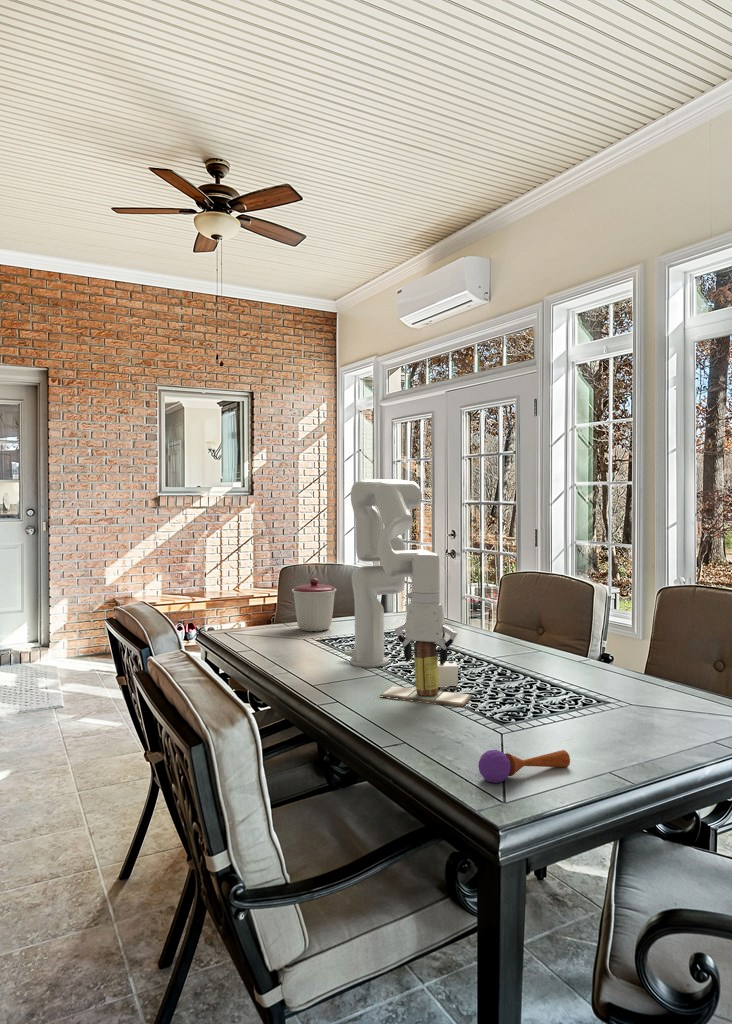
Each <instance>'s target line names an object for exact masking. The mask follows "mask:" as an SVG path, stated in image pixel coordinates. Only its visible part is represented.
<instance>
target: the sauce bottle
mask: <svg viewBox="0 0 732 1024" xmlns="http://www.w3.org/2000/svg"><path fill="white" fill-rule="evenodd" d="M413 652H414V656H413V660H414V661H413V663H414V676H415V677H414V679H415V689H416V691H417V694H418V695H422V696H434V695H437V694H438V692H439V688H440V687H439V680H438V662H437V661H438V652H437V645H436V642H421V641H414V644H413Z"/></svg>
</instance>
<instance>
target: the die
mask: <svg viewBox="0 0 732 1024" xmlns="http://www.w3.org/2000/svg"><path fill="white" fill-rule="evenodd" d="M437 662H438V680H439V686H443V687H442V688H445V687H444V686H447V687H446V688H449V687H448V686H456V687H455V688H458V687H459V678H458V677H459V676H458V674H459V666H458V663H457V661H456V660H455V661H451V660H450V661H449V660H447V661H446V662H445V663H444V664H440V660H437ZM457 686H458V687H457Z"/></svg>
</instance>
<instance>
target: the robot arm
mask: <svg viewBox="0 0 732 1024" xmlns="http://www.w3.org/2000/svg"><path fill="white" fill-rule="evenodd" d="M350 490H351V491H350V503H351V506H352V510H353V513H354V514H353V515H354V518H355V519H354V520H355V549H356V550H355V551H356V556H357V558H358V560H359V561H361V562H365V563H367V562H368V563H369V562H371V563H372V562H381V563H380V564H381V565H364V566H360V567H357V568H356V569H354V571H353V572H352V574H351V586H352V590H353V591H352V592H353V599H354V600H353V601H354V648H349V647H345V648H344V651H343V653H344V655H345V656H351V658H350V659H349V661H350V664H351V665H352V666H355V667H361V668H379V667H384V666H386V665H387V666H388V664H390V659H389V658H388V657H387V656H385V608H384V605H383V604H382V602H381V601H380V600H379V599H378V596H382V595H384V596H385V595H397V594H399V593H401V592H402V591H403V590H404V589H405V583H406V578H409V577H411V591H410V592H407V593H406V598H407V599H410V602H408V605H407V608H406V616H405V617H406V618H405V623H404V624H402V625H400V626H397V627H396V628H395V629H394V633H395V635H396V636H397V639H398V641H399V642H400V643H401V644H402V646H403V657H404V658H405V662H409V661H411V660H412V658H413V657H412V655H413V654H412V653H413V652H412V651H413V649H412V648H413V647H412V646H413V645H412V644H411V642H416V641H421V642H434V643H437V644H438V645H439V646H440V649H439V661H440V664H444V663H445V662H446V661H448V648H449V647H450V646H451V645H452V644H453V643H454V642H455V640H456V639H457V636H458V632H457V631H455V630H454V629H452V628H451V627H448V626H447V625H446V624H445V613H444V607H443V604H442V603H440V602H441V601H440V595H441V594H440V556H439V554H438V553H435V552H432V551H429V550H427V549H405V543H404V539H403V537H402V536H401V535H403V534H405V533H407V532H408V531H409V530H410V529H411V528H412V527H413V523H414V518H413V516H412V514H411V510H412V509H414V510H415V509H417V508H419V507H420V506H421V504H422V502H423V492H422V490H421V488H420V486H419V484H417V482H416V481H412V480H411V481H409V480H406V479H391V478H390V479H389V478H387V479H385V478H383V479H382V478H381V479H380V478H378V479H377V478H372V479H371V478H367V479H360V480H358V481H356V482H354V483H353V484H352V487H351V489H350ZM376 507H377V508H378V509H377V508H376ZM410 509H411V510H410ZM383 526H384V528H383ZM403 631H404V634H405V635H404V634H403ZM446 634H448V635H449V636H450V637H449V639H448V640H446V639H445V638H446Z"/></svg>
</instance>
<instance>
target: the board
mask: <svg viewBox="0 0 732 1024" xmlns="http://www.w3.org/2000/svg"><path fill="white" fill-rule="evenodd" d="M380 696H383V697H390V698H398V699H405V700H404V701H407V700H413V701H412V702H416V701H421V702H420V703H424V702H429V703H428V704H433V703H436V704H435V705H442V704H445V705H444V706H450V705H453V707H459V706H461V708H464V707H463V706H464V705H467V703H468V702H469V701H470V700H471V699H472V696H473V695H472V694H469V693H458V692H449V691H439V692H438V694H437V695H434V696H422V695H418V694H417V691H416V688H414V687H413V688H412V687H402V686H393V685H391V686H390V687H388V688H387V689H386V690H385V691H383V692H382V693H381V694H379V697H380ZM390 698H389V699H390ZM398 699H397V700H398Z"/></svg>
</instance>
